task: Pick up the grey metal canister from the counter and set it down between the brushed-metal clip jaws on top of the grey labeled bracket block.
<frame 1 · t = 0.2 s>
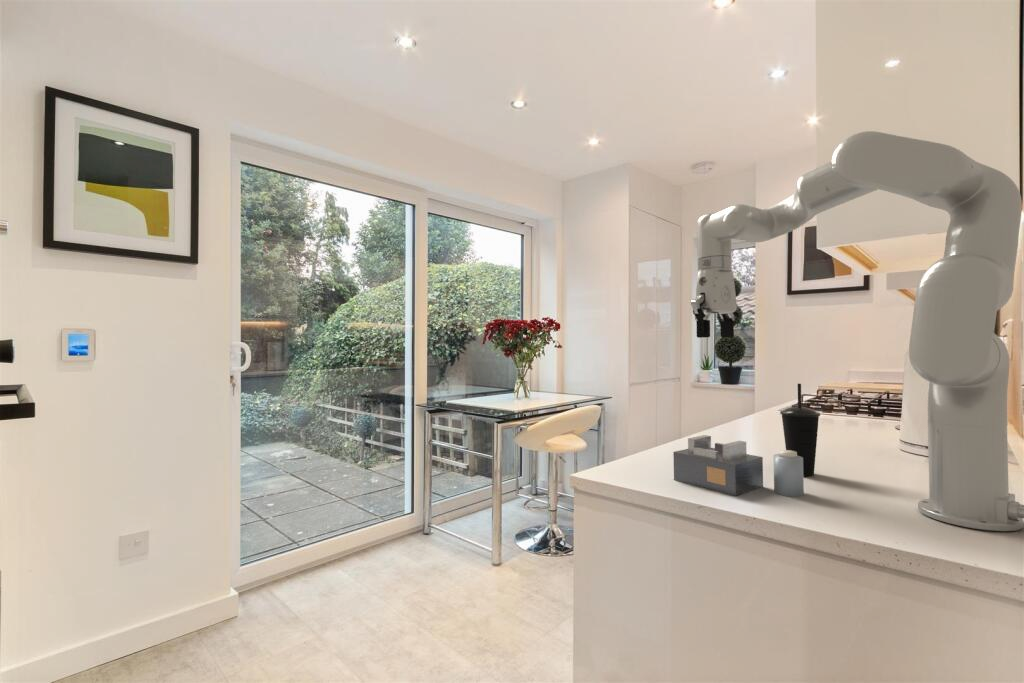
hand: (715, 337, 116), 31 cm above the countertop, fingers open, 9 cm apart
drinking cup: (801, 474, 107), on the countertop
grey labeled bracket block: (717, 483, 101), on the countertop
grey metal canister: (788, 492, 94), on the countertop
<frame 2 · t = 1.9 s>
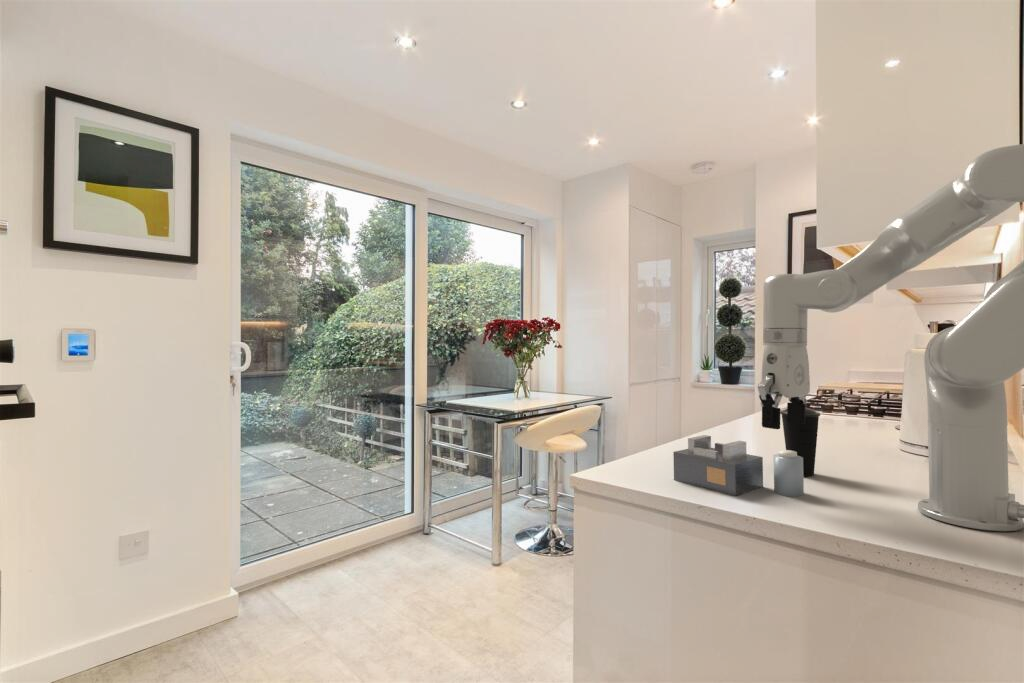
hand: (783, 425, 94), 13 cm above the countertop, fingers open, 9 cm apart
nothing on the countertop moved.
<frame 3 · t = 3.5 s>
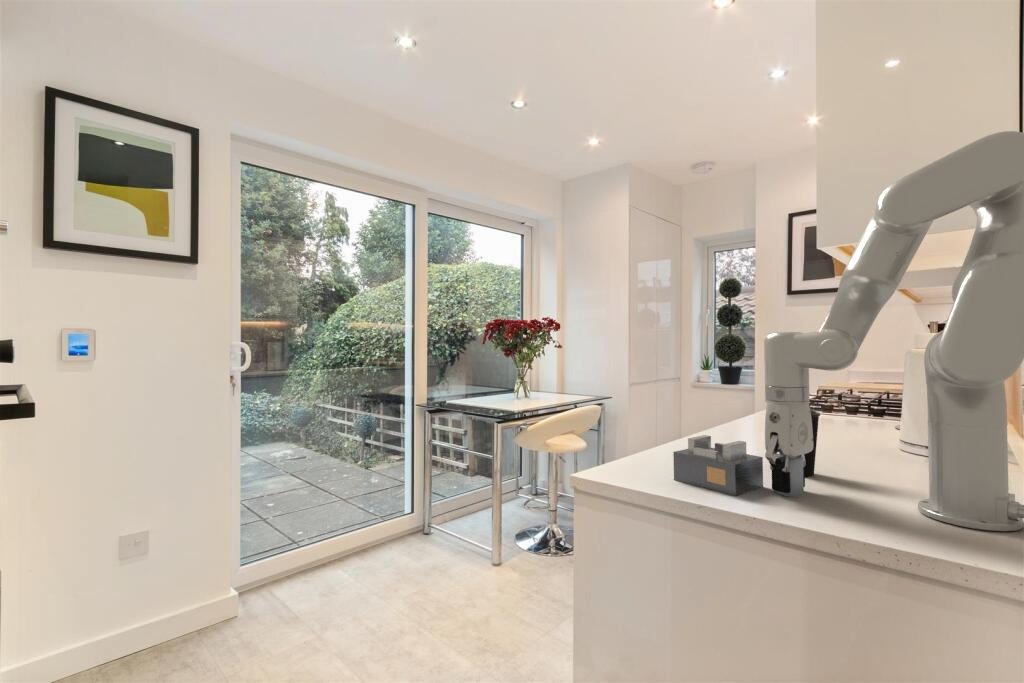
hand: (788, 487, 94), 1 cm above the countertop, fingers closed on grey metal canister, 5 cm apart
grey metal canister: (788, 492, 94), on the countertop, touching gripper
everything else where it was.
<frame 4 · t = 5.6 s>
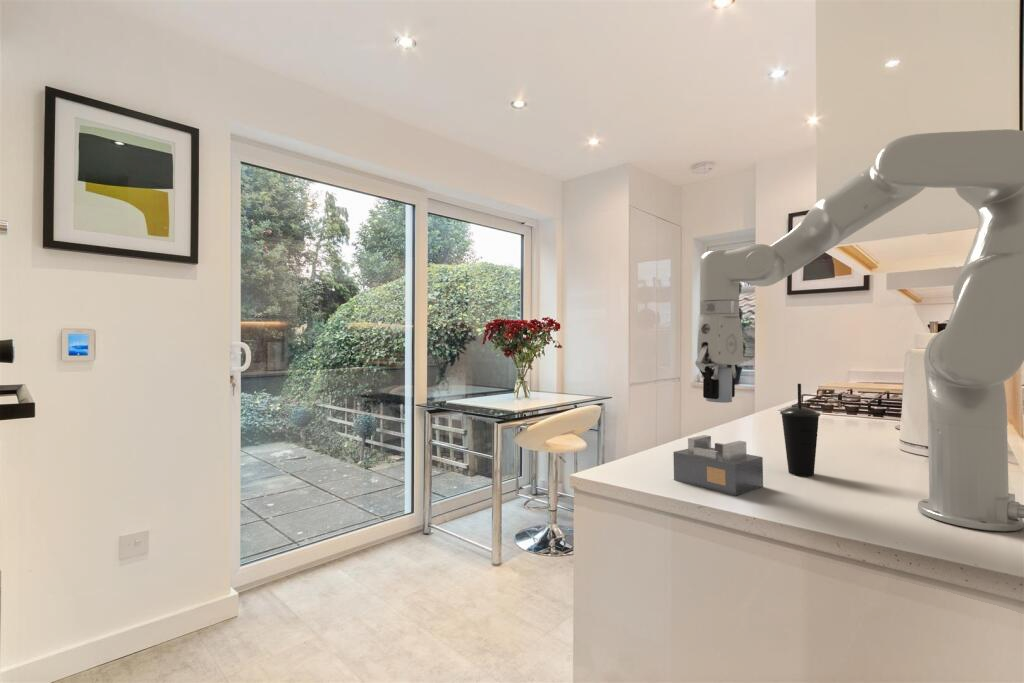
hand: (719, 396, 101), 18 cm above the countertop, fingers closed on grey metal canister, 5 cm apart
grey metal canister: (718, 401, 101), point 17 cm above the countertop, touching gripper
everything else where it was.
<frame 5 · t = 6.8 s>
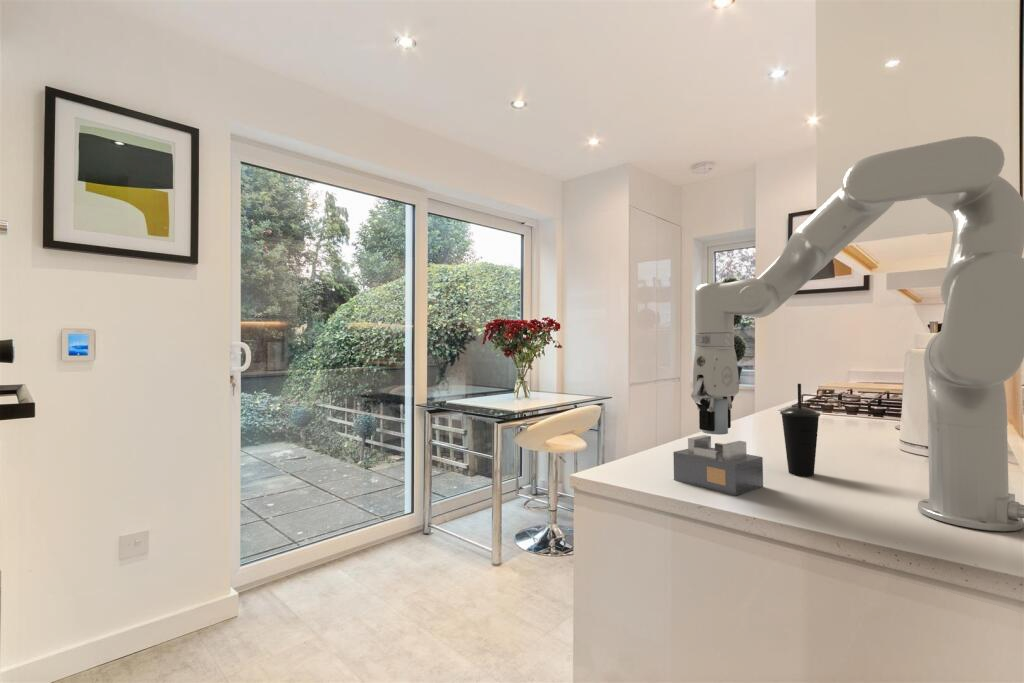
hand: (715, 427, 101), 12 cm above the countertop, fingers closed on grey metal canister, 5 cm apart
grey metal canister: (714, 432, 101), point 11 cm above the countertop, touching gripper
everything else where it was.
when the fingers open (8 cm above the countertop, at t = 7.8 s): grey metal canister drops 1 cm, resting on grey labeled bracket block.
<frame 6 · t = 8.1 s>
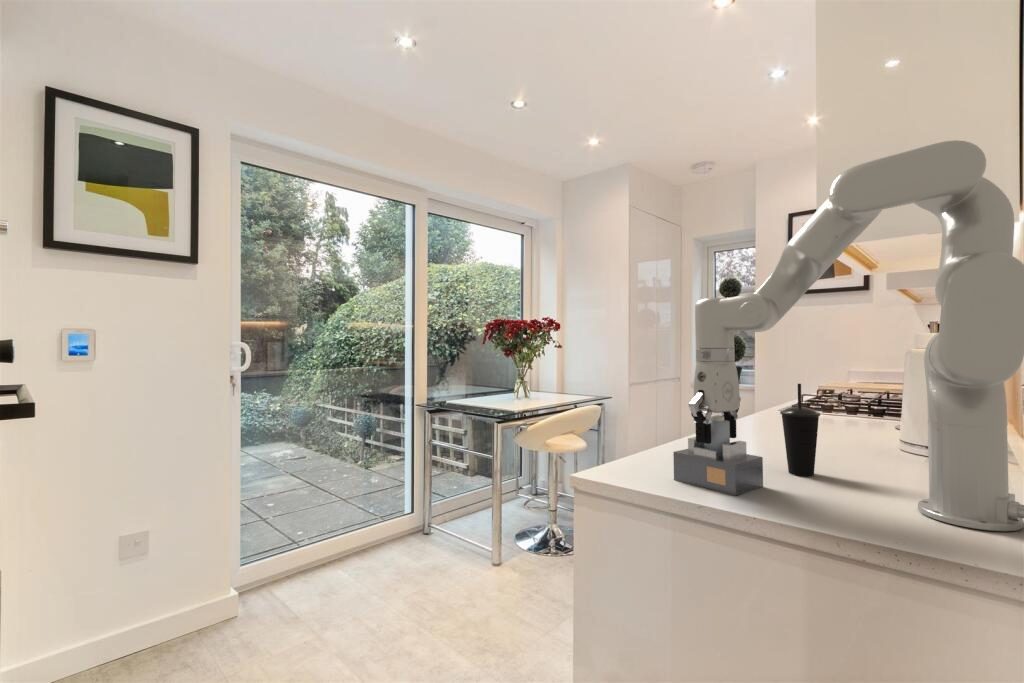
hand: (716, 439, 101), 9 cm above the countertop, fingers open, 8 cm apart
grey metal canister: (717, 454, 101), point 6 cm above the countertop, touching grey labeled bracket block
everything else where it was.
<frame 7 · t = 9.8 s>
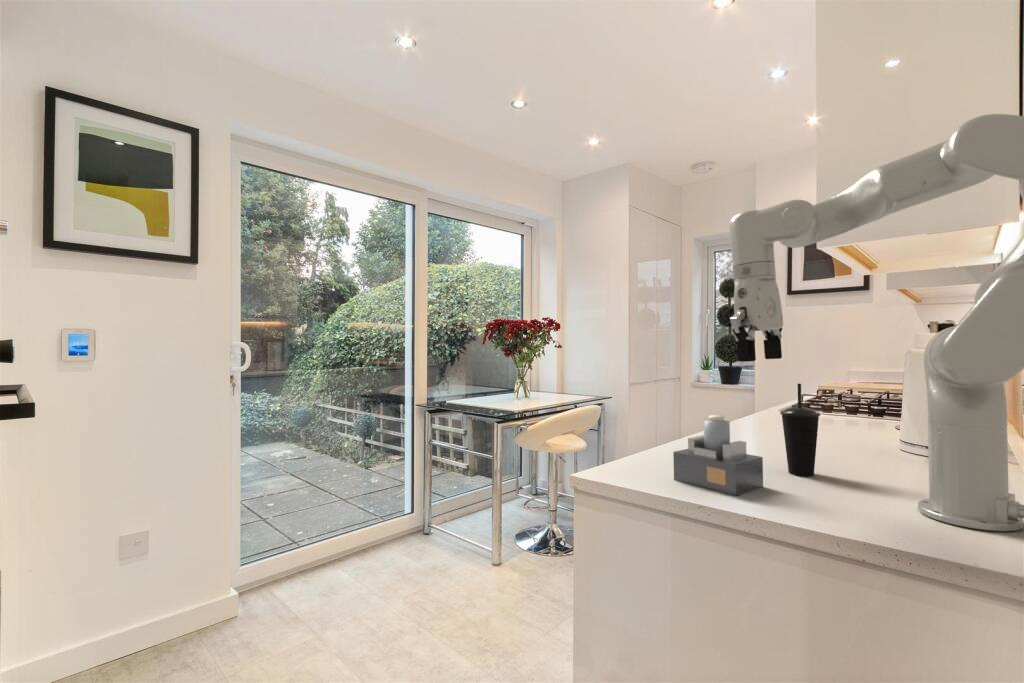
hand: (760, 359, 96), 26 cm above the countertop, fingers open, 9 cm apart
nothing on the countertop moved.
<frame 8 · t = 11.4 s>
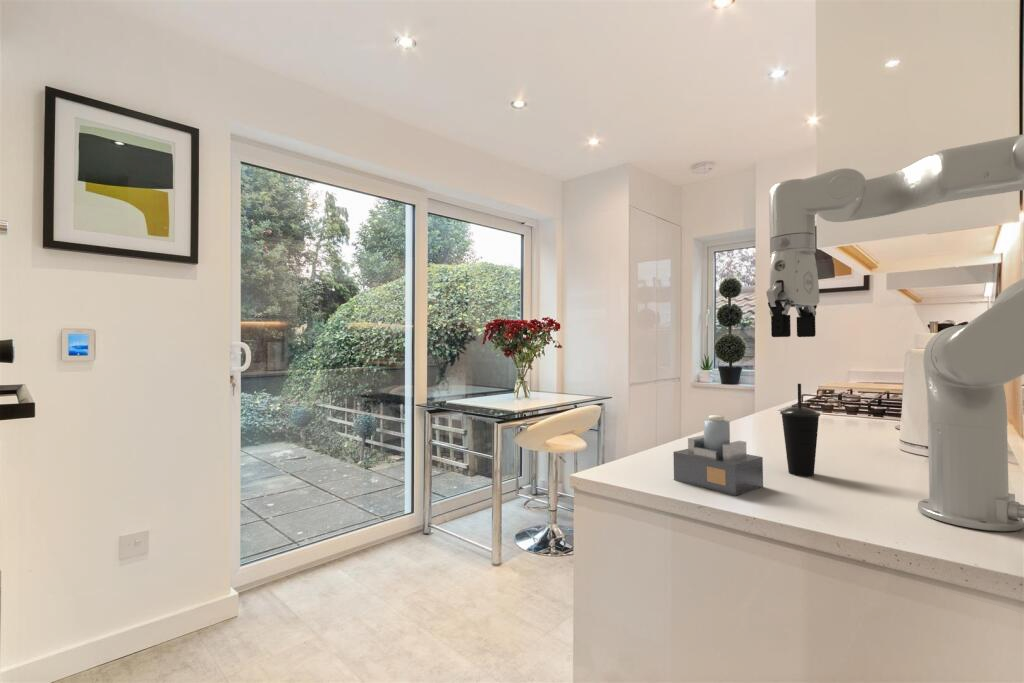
hand: (793, 336, 92), 30 cm above the countertop, fingers open, 9 cm apart
nothing on the countertop moved.
at the end: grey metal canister 0.1 cm off-centre on the grey labeled bracket block, point 6.0 cm above the grey labeled bracket block's base; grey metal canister tilted 0°; the gripper is holding nothing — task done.
